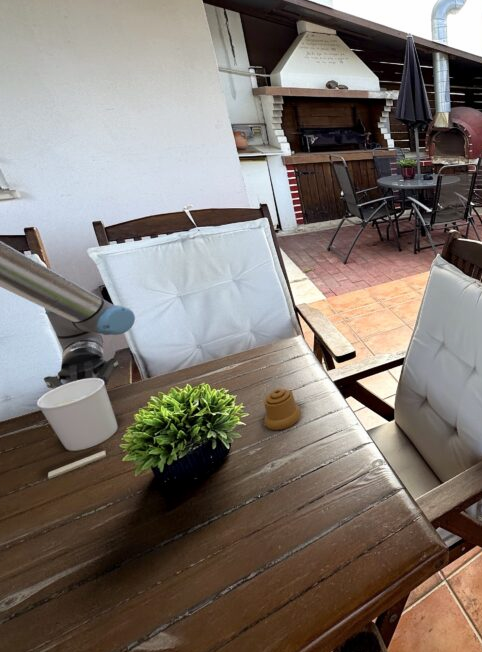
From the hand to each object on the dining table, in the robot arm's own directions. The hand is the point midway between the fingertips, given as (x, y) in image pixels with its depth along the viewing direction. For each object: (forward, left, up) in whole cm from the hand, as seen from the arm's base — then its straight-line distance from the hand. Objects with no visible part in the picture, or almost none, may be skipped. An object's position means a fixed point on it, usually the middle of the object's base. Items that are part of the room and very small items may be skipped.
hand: (82, 401), depth 89 cm
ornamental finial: (+41, -13, -7) cm, 43 cm away
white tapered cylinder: (+2, -4, -7) cm, 8 cm away
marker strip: (+4, -13, -7) cm, 15 cm away
